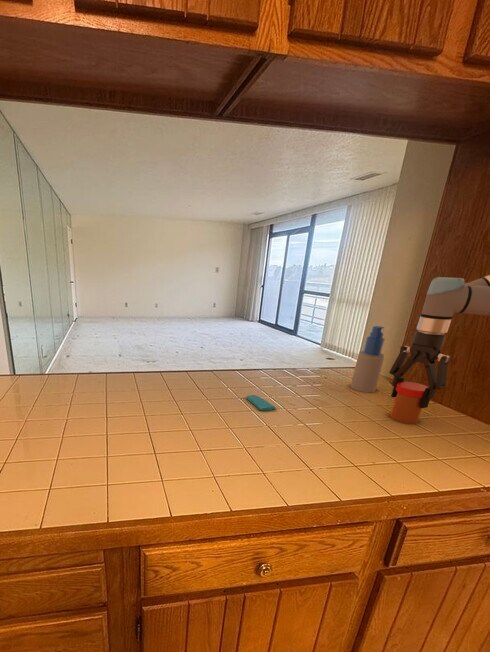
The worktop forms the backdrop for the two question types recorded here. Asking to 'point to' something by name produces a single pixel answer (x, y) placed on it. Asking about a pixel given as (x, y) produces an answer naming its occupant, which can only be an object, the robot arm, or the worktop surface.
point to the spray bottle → (369, 362)
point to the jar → (406, 409)
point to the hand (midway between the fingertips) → (408, 401)
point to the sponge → (260, 402)
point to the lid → (411, 389)
